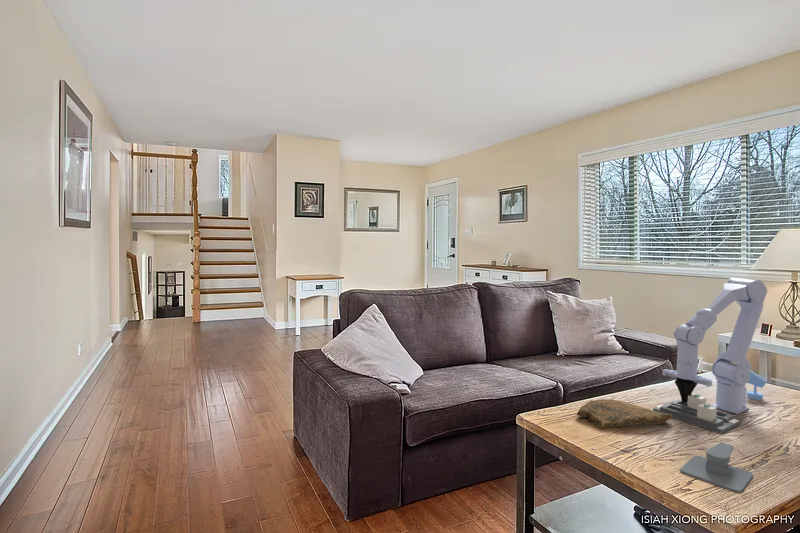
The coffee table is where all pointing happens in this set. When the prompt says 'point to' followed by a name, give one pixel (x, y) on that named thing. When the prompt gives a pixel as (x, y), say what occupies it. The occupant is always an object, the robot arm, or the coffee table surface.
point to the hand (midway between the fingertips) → (685, 401)
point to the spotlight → (755, 381)
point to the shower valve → (718, 469)
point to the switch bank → (690, 416)
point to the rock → (619, 414)
